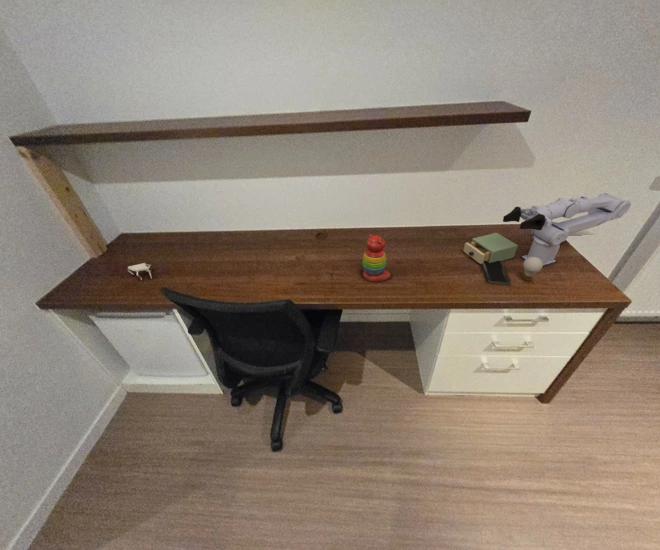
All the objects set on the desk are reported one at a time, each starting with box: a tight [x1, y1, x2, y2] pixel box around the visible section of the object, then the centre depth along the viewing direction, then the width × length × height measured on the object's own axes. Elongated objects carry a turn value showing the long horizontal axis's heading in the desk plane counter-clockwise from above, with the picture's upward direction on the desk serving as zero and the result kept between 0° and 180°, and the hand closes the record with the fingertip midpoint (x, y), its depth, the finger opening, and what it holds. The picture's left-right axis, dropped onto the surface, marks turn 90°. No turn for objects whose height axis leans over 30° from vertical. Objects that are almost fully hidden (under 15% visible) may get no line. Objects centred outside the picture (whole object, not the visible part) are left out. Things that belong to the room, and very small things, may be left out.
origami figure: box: [127, 262, 153, 281], centre depth 130 cm, size 12×8×5 cm
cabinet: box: [471, 232, 518, 263], centre depth 127 cm, size 12×12×6 cm
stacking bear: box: [361, 233, 392, 282], centre depth 117 cm, size 11×10×18 cm
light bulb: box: [522, 257, 544, 282], centre depth 111 cm, size 6×6×10 cm
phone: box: [481, 261, 511, 286], centre depth 119 cm, size 8×1×15 cm
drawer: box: [462, 241, 491, 265], centre depth 126 cm, size 13×11×4 cm
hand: (512, 222), depth 107 cm, fingers open, 7 cm apart
